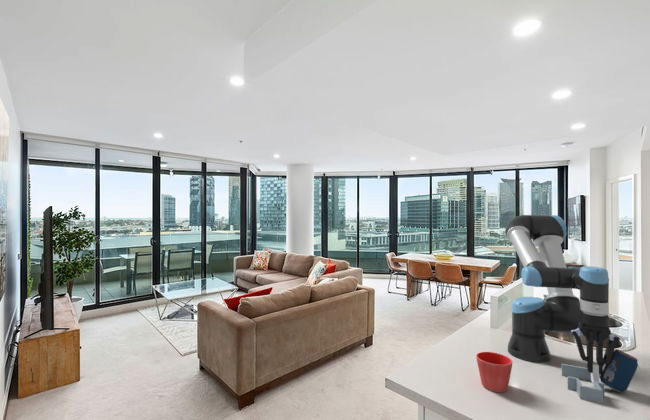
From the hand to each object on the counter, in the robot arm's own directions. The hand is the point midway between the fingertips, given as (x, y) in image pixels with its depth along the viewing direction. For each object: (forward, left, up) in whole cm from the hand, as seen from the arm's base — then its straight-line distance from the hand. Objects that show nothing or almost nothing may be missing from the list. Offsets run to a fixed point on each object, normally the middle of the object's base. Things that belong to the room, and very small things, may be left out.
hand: (594, 382), depth 108 cm
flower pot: (-30, -15, -2) cm, 34 cm away
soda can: (+4, 0, -1) cm, 4 cm away
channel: (-4, -3, -2) cm, 5 cm away
